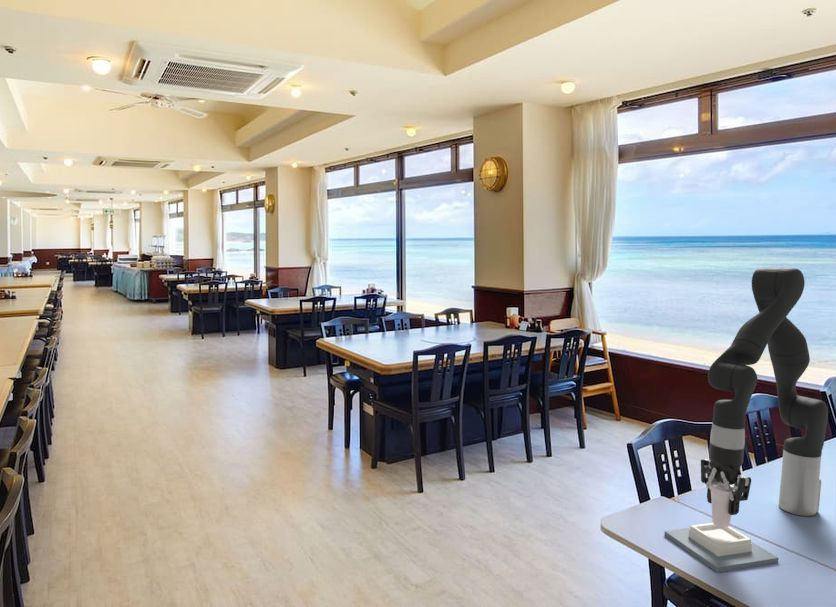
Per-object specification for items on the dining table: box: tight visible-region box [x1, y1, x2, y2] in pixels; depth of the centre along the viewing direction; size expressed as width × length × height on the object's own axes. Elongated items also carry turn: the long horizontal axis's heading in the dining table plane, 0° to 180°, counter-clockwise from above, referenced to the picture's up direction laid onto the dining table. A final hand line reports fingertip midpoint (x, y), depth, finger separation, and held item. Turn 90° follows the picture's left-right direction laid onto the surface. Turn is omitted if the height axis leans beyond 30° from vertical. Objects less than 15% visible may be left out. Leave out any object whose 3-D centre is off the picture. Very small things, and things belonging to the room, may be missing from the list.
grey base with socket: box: [664, 522, 779, 573], centre depth 147 cm, size 18×18×4 cm
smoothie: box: [709, 482, 736, 528], centre depth 146 cm, size 6×6×14 cm
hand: (722, 508), depth 147 cm, fingers closed on smoothie, 6 cm apart
